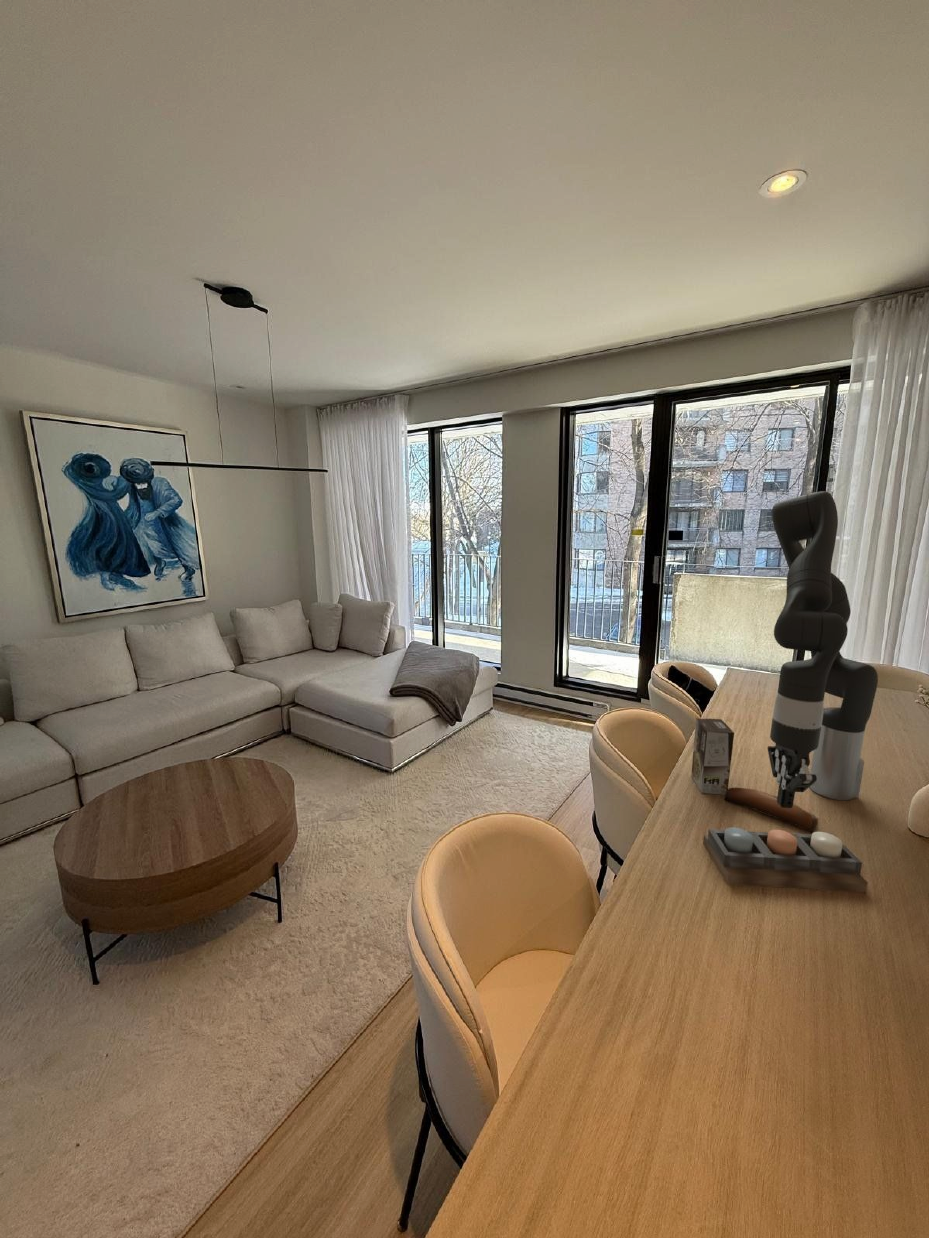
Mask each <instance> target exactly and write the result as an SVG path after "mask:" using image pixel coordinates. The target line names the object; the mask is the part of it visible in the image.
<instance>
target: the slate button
mask: <svg viewBox="0 0 929 1238" xmlns="http://www.w3.org/2000/svg"><path fill="white" fill-rule="evenodd" d="M724 830H725V836H724V846H725V848H726V849H727V851H728V852H738V853H752V845H753V836H752V835H751V834H750V833H749V832H747V830H745V829H742V828H738V827H728V828H726V829H724Z"/></svg>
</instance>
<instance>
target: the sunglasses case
mask: <svg viewBox="0 0 929 1238" xmlns="http://www.w3.org/2000/svg"><path fill="white" fill-rule="evenodd" d="M777 796H778V795H774V794H770V793H767V792H764V791H761V790H757V789H754V788H753V789H752V788H746V787H729V788H728V790H727V792H726V794H725V795H724V801H727V802H729V803H732V804H735V805H739V806H742V807H746V808H748V809H752V810H756V811H757V812H760V813H761V814H762V813H763V814H765V815H767V816H770V817H773V818H776V819H778V820H781V821H783V822H787V823H789V824H792V825H795V826H796V827H799V828H802V829H805V830H807V831H809V832H811V833H814V832H815V828H816V826H817V825H818V823H819V820H820V818H819V817H817V816H816V815H814V814H813V813H811V812H810V811H808V810H805V809H803V808H802V807H800V806H798V805H797V804H795V803H794V802H793V807H792V808H782V807H781V806H780V805H779V804H778V803H777Z"/></svg>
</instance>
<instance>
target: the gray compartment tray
mask: <svg viewBox="0 0 929 1238" xmlns="http://www.w3.org/2000/svg"><path fill="white" fill-rule="evenodd" d="M725 830H726V829H708V832H707V833H708V834H703V837H702V843H703V846H704V847H705V849H706V851H707V853H708V854H709V856H710V858H711V859H712V861H713V863H714V865H715V866H716V868H717V869H718V871H719V873H720V874H721V876H722V878H723V879H724V881H725V884H726V885H738V886H739V885H740V886H741V885H742V886H754V887H769V888H771V887H772V888H773V887H775V888H786V889H787V888H791V889H804V890H805V889H806V890H807V889H808V890H820V891H821V890H825V891H837V892H838V891H840V892H842V891H843V892H857V893H867V890H868V889H867V888H868V884H869V883H868V881H867V880H866V879H865V878H864V877H863V876H862V875H861V872H862V865H863V862H862V861H861V860H860V859H859V858H858V857H857V855H855V854H854V852H852V851H851V850H850V849H849V848H848V847H847V846H846V845H845V844H844V843H843V845H842V851H841V857H840V858H831V857H818V856H817V855H816V854H815V853H814V851H813V850H812V849H811V848H810V843H811V836H812V834H809V833H790V832H789V833H790V834H792V835H793V836H794V837H796V839H797V841H798V842H797V849H796V856H794V855H775V854H772V852H771V851H770V850H769V849H768V847H767V838H768V832H769V831H768V832H766V831H750V830H749V831H747V830H746V831H747V832H749V833H750V834H751V835H752V836H753V845H752V853H738V852H728V851H727V849H726V848H725V846H724V836H725ZM834 836H835V837H837V836H836V835H834Z"/></svg>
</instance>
